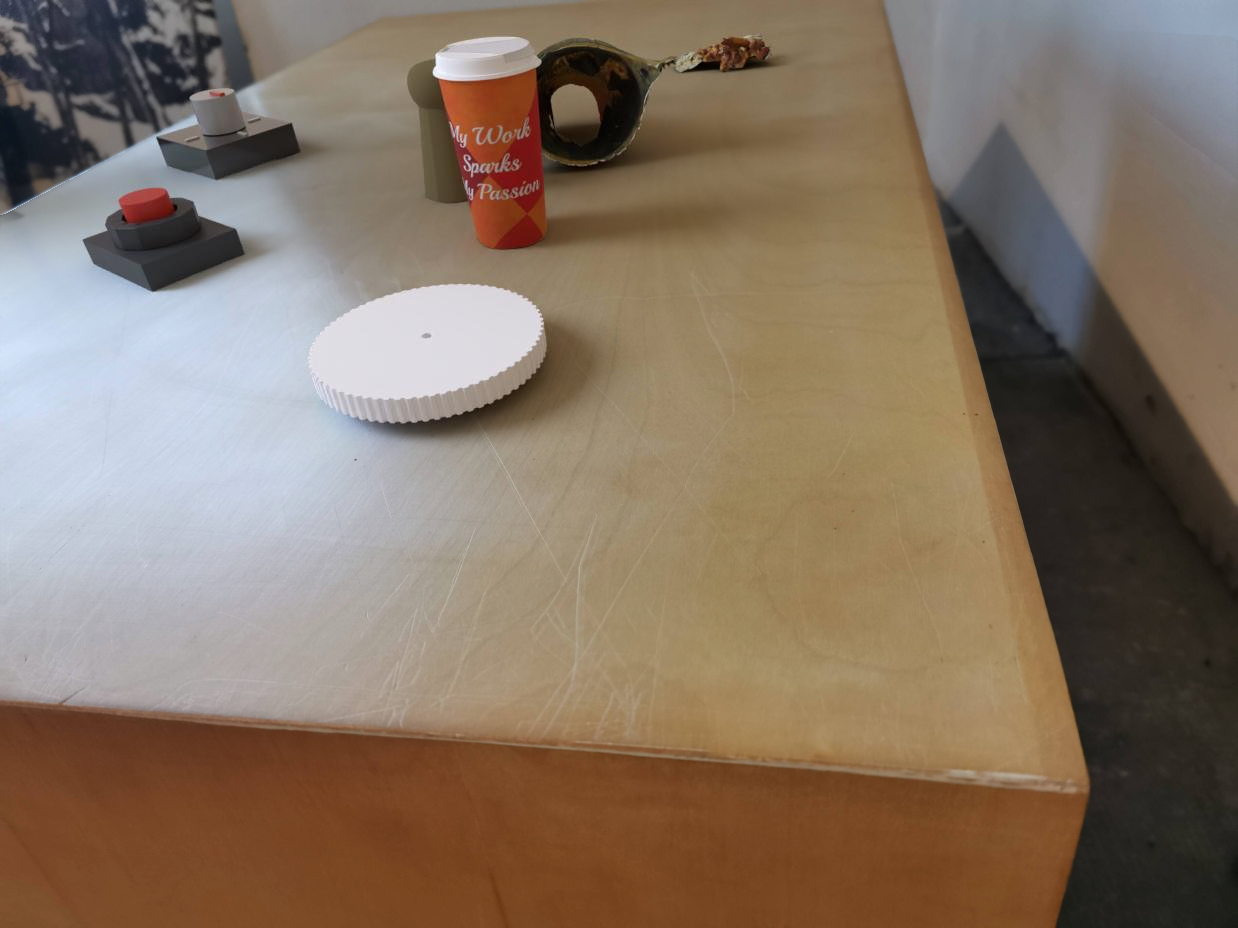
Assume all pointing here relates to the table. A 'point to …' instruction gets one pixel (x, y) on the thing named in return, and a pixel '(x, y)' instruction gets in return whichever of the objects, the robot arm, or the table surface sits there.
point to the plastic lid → (427, 353)
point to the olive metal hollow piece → (595, 95)
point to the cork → (435, 137)
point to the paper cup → (496, 136)
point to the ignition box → (163, 246)
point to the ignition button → (146, 205)
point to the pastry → (727, 53)
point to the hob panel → (229, 147)
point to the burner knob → (217, 111)
